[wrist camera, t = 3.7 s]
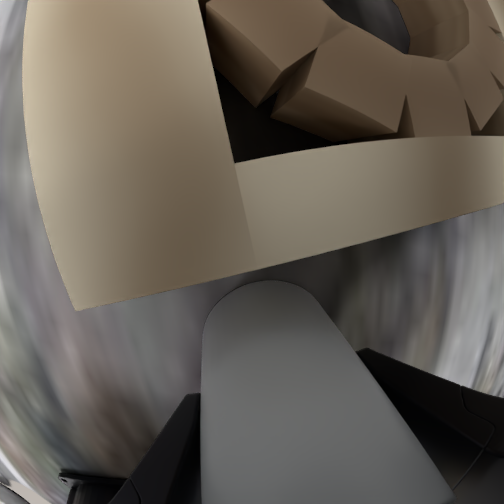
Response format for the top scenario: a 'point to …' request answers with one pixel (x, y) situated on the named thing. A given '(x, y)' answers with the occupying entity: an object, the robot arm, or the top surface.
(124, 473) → the top surface
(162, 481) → the robot arm
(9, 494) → the spoon rest
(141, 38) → the jig plate
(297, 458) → the cylinder
